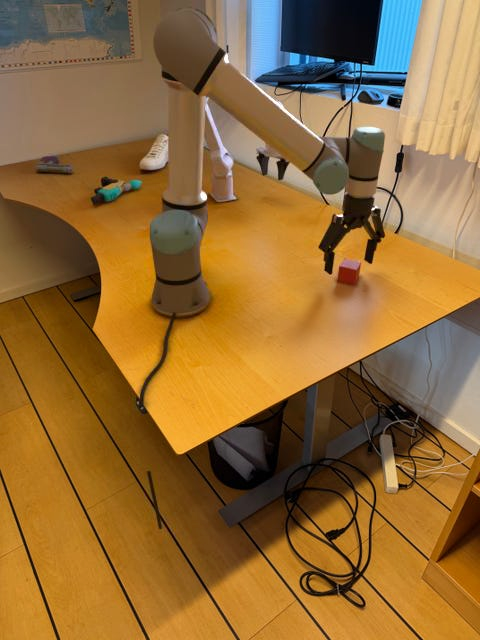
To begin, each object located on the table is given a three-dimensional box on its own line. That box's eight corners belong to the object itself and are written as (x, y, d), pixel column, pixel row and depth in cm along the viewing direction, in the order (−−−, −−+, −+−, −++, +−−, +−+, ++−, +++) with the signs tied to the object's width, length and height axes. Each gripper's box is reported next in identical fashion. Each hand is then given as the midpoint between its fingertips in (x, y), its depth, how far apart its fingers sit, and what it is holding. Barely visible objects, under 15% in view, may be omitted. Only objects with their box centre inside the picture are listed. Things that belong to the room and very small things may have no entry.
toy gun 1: (85, 164, 218) (69, 176, 206) (48, 162, 221) (31, 173, 209) (84, 156, 216) (67, 167, 204) (46, 154, 219) (28, 164, 207)
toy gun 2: (68, 191, 178) (99, 198, 173) (113, 171, 197) (142, 177, 191) (70, 203, 181) (101, 210, 175) (115, 182, 199) (143, 188, 194)
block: (354, 284, 132) (356, 269, 129) (337, 281, 133) (339, 266, 131) (358, 276, 135) (361, 261, 132) (342, 272, 137) (344, 258, 134)
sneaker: (133, 173, 208) (129, 144, 201) (161, 153, 230) (158, 127, 223) (155, 175, 205) (151, 146, 198) (180, 155, 227) (178, 129, 220)
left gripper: (389, 181, 127) (375, 252, 139) (310, 196, 118) (303, 270, 130) (408, 190, 121) (392, 263, 134) (327, 206, 112) (318, 283, 125)
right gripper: (250, 137, 169) (250, 175, 177) (282, 145, 161) (281, 184, 169) (263, 133, 173) (263, 170, 181) (295, 141, 165) (293, 179, 173)
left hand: (348, 267), depth 132 cm, fingers open, 13 cm apart
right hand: (272, 177), depth 175 cm, fingers open, 7 cm apart
